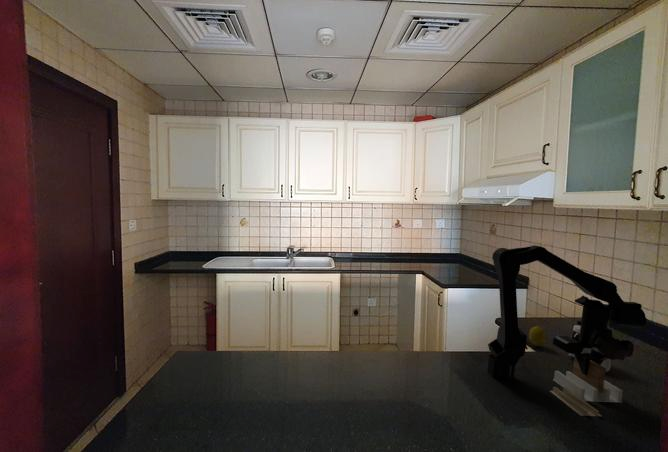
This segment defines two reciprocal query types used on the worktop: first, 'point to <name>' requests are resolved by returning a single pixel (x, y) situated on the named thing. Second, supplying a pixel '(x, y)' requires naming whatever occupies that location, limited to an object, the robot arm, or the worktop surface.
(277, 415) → the worktop surface
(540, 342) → the lemon
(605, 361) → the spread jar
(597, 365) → the board
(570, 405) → the stand
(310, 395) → the worktop surface
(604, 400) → the rack
